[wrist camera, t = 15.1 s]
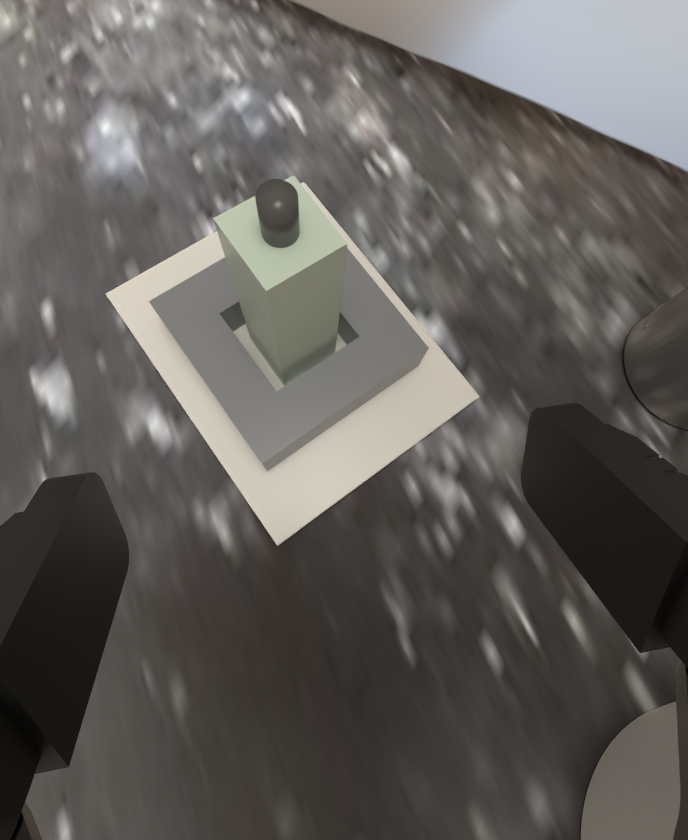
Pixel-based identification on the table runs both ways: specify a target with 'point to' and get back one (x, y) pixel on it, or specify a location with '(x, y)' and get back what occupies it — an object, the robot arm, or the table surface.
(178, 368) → the plate
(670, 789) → the roll of tape
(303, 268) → the plug
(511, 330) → the table surface
